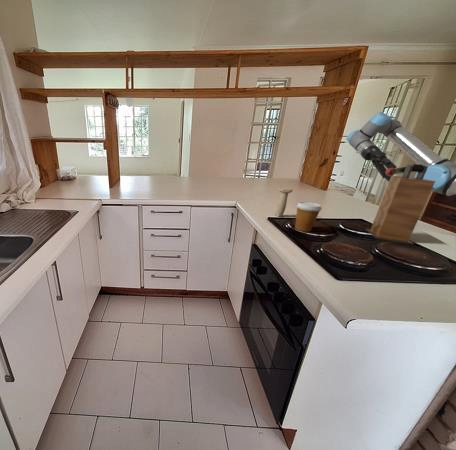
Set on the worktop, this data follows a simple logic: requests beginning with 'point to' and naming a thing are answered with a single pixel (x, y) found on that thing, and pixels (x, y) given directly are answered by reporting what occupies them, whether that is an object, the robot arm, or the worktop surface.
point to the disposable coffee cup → (306, 215)
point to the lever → (403, 169)
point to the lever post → (401, 206)
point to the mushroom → (282, 201)
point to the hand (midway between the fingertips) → (394, 176)
